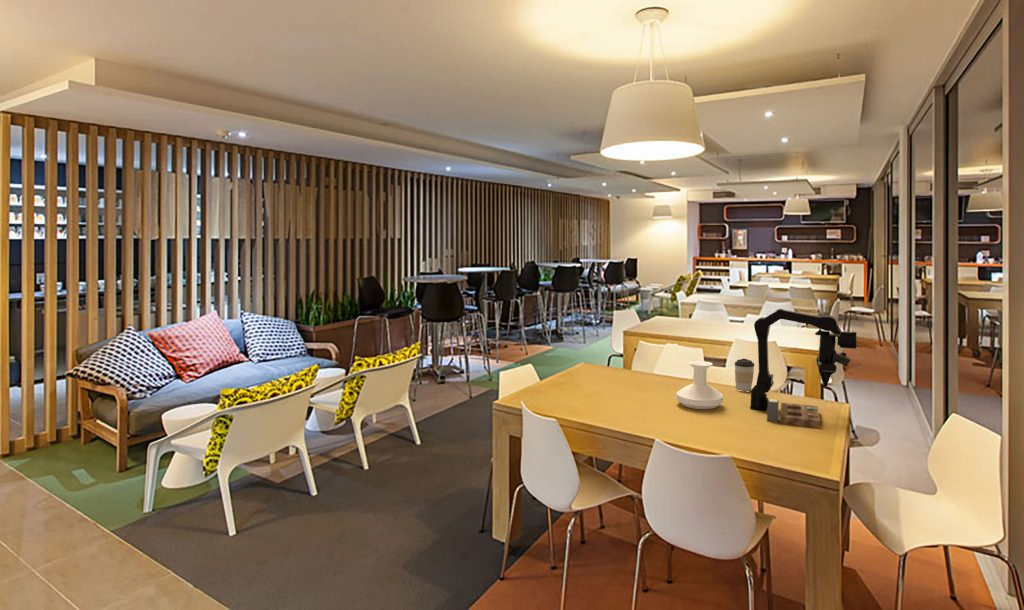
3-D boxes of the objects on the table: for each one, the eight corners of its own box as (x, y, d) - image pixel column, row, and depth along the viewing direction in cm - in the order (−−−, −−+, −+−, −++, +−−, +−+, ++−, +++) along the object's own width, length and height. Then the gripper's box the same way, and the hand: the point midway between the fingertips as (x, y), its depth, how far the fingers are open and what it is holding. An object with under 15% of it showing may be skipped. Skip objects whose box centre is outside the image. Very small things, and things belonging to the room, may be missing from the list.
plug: (766, 421, 240) (767, 401, 239) (767, 418, 244) (768, 398, 243) (777, 422, 238) (778, 402, 237) (777, 419, 242) (778, 399, 241)
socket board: (780, 423, 236) (780, 415, 236) (781, 409, 256) (781, 401, 255) (819, 428, 230) (820, 419, 230) (817, 413, 250) (817, 404, 250)
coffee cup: (754, 393, 282) (755, 362, 281) (733, 391, 285) (734, 361, 284) (752, 388, 291) (754, 358, 289) (733, 387, 294) (734, 357, 292)
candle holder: (706, 415, 249) (707, 370, 246) (666, 405, 264) (667, 362, 262) (732, 406, 261) (733, 363, 259) (692, 397, 277) (693, 356, 274)
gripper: (852, 352, 230) (849, 391, 232) (847, 344, 247) (844, 380, 249) (820, 349, 235) (817, 388, 237) (817, 342, 252) (814, 377, 254)
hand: (824, 383), depth 244 cm, fingers open, 9 cm apart
